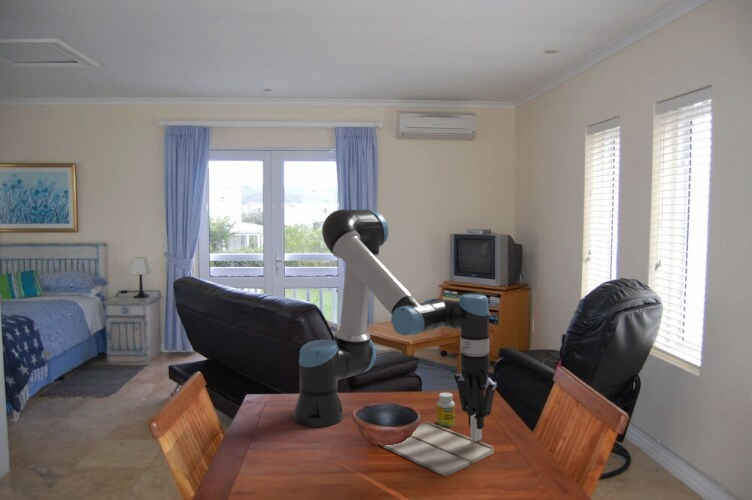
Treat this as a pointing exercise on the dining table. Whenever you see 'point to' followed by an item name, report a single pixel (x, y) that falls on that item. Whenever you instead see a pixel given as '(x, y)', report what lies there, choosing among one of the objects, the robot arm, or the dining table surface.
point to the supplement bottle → (445, 410)
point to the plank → (452, 442)
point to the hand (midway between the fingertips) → (476, 439)
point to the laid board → (428, 456)
